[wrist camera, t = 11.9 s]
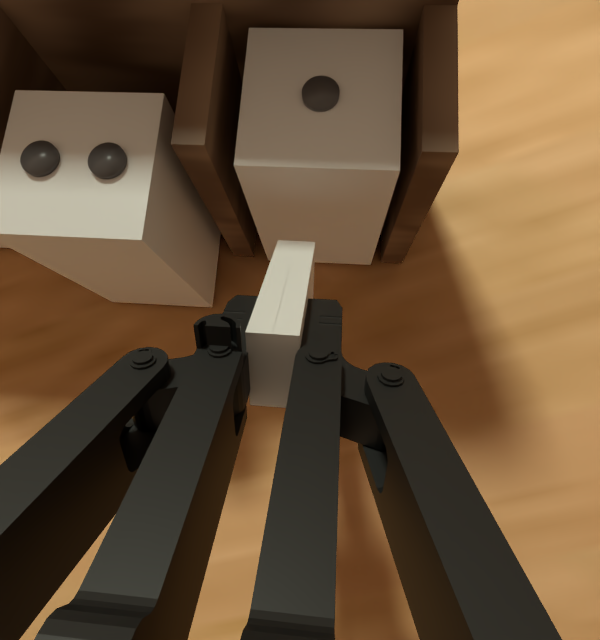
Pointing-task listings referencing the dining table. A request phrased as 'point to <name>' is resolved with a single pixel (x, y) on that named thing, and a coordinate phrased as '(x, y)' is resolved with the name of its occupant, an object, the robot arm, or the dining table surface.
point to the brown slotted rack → (236, 82)
